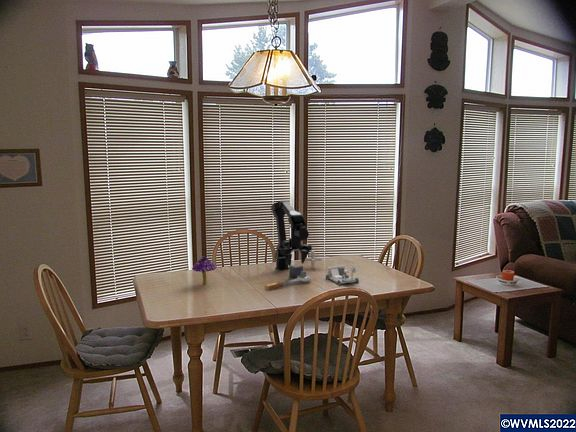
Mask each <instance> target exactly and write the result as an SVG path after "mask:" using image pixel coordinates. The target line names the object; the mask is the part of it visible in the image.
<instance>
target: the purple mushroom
mask: <svg viewBox="0 0 576 432" xmlns="http://www.w3.org/2000/svg"><path fill="white" fill-rule="evenodd" d="M216 268H217V266H216V265H215V264H214V263H213V262H212V261H211V260H209V259H208V258H207V257H206V256H202V257H201V258H200V259H198V261H197V262H196V263H195V264H194V265H193V266H192V267H191V269H192V270H193V271H194V272H198V273H199V272H201V273H202V274H201V275H202V284H203V285H204V286H205V285H207V274H206V273H207V272H211V271H214V270H217V269H216Z"/></svg>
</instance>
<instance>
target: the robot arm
mask: <svg viewBox="0 0 576 432" xmlns="http://www.w3.org/2000/svg"><path fill="white" fill-rule="evenodd" d="M270 208H271V209H270V210H271V212H272V215H273V217H274V218H275V222H276V232H277V240H278V243H277V245H276V249H275V252H274V254H273V256H274V260H276V262H275V268H274V269H276V270H279V271H286V270H289V266H292V257H293V254H292V253H293V252H298V251H299V252H300V257H301V258H300V260H301V264H304V263H305V262H306V261H305V259H306V258H308V257H307V256H308V255H309V253H311V251H313V249H312V248H313V247H312V245H311V244H308V243H307V244H302V242H303V241H304V240H307V239H308V238H309V235H310V232H309V231H308V229H306V227H307V223H306V220H305V218H304V216H303V214H302V213H300V211H296V210H295V209H294V207H293V206H292V205H291V204H290V202H289V200H287V199H284V200H282V199H281V200H279V201H277V202H274V203H272V205H271V206H270ZM285 215H286V216H287V217H288V219H287V221H288V223H289V225H290V226H289V228H290V238H289V239H288V241H287V235H286V234H287V232H286V225H285Z"/></svg>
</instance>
